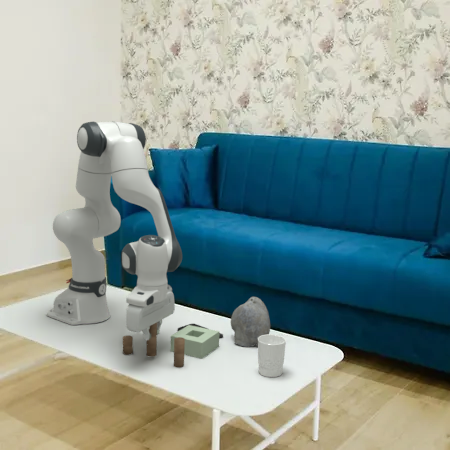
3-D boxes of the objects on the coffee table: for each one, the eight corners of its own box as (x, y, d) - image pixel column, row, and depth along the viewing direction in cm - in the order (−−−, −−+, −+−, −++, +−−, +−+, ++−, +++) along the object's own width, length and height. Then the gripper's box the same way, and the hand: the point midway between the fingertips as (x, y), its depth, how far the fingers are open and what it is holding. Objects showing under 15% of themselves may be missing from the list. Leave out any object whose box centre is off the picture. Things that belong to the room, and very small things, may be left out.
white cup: (289, 372, 179) (291, 339, 177) (273, 381, 173) (274, 346, 171) (268, 364, 184) (269, 332, 182) (250, 372, 178) (252, 339, 176)
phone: (192, 323, 214) (224, 334, 204) (192, 326, 215) (224, 338, 204) (175, 328, 209) (207, 341, 199) (175, 331, 209) (207, 344, 199)
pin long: (144, 355, 185) (144, 316, 182) (150, 351, 188) (150, 313, 185) (152, 357, 184) (153, 318, 181) (158, 354, 186) (159, 315, 184)
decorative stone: (220, 340, 201) (222, 296, 198) (238, 331, 209) (240, 288, 206) (260, 352, 192) (262, 305, 190) (277, 342, 201) (279, 297, 198)
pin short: (120, 353, 189) (120, 337, 188) (126, 350, 192) (126, 334, 191) (128, 355, 188) (128, 339, 187) (134, 352, 190) (134, 336, 189)
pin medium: (171, 366, 181) (172, 339, 179) (176, 362, 184) (177, 336, 182) (180, 368, 180) (181, 342, 178) (185, 364, 182) (186, 338, 181)
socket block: (170, 351, 191) (170, 335, 191) (188, 339, 201) (188, 325, 200) (201, 358, 187) (202, 342, 186) (219, 346, 196) (219, 331, 195)
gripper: (162, 281, 192) (161, 324, 195) (122, 299, 174) (122, 345, 177) (180, 284, 189) (179, 328, 192) (141, 303, 171) (140, 350, 174)
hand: (151, 336), depth 184 cm, fingers closed on pin long, 3 cm apart
